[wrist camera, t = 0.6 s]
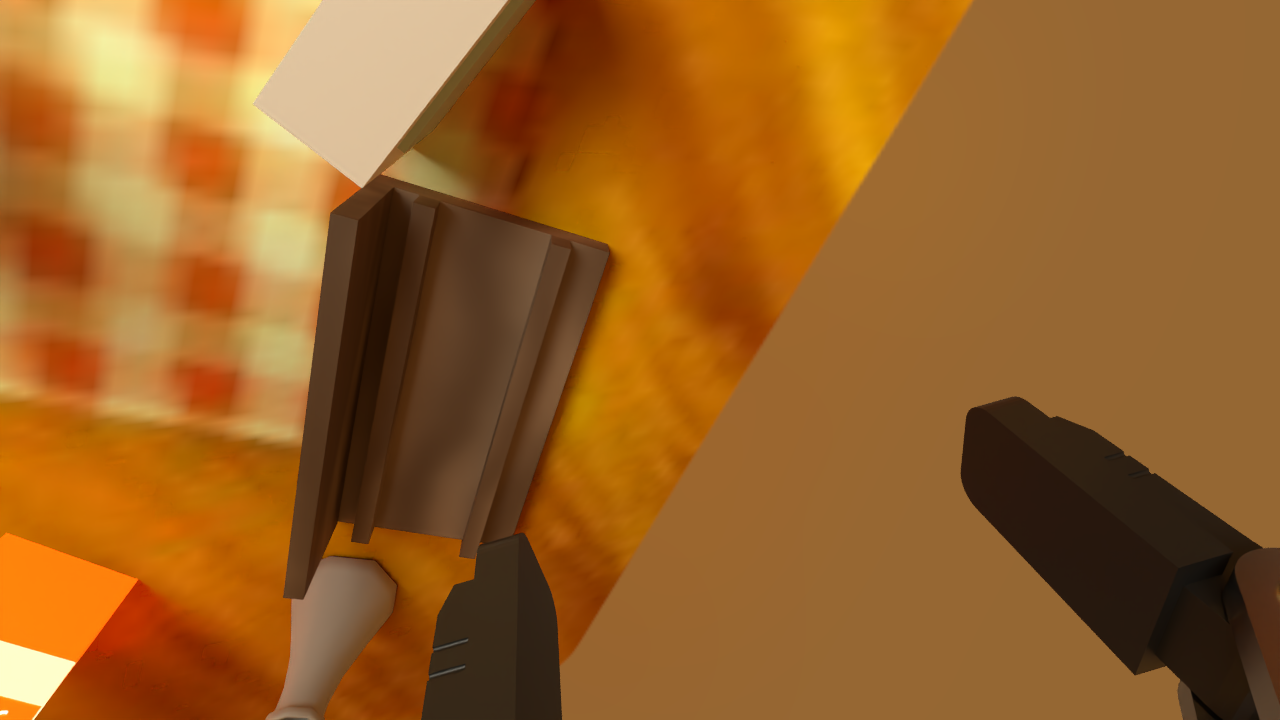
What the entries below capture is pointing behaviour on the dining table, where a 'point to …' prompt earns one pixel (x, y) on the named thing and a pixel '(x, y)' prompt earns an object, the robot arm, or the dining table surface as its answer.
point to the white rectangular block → (382, 75)
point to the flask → (332, 632)
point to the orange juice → (47, 619)
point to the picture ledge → (434, 368)
